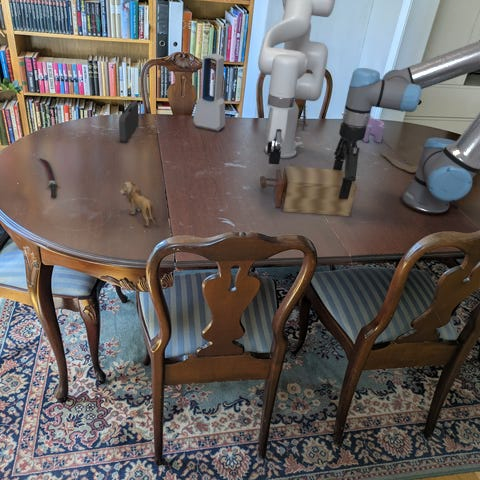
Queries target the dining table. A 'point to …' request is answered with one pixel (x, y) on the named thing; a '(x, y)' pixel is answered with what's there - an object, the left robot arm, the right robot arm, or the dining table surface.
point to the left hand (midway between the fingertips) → (272, 158)
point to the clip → (374, 129)
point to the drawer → (276, 186)
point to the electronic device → (207, 106)
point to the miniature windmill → (303, 111)
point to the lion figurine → (137, 201)
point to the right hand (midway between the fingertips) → (339, 188)
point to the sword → (52, 181)
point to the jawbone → (401, 164)
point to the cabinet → (316, 191)
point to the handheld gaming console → (128, 121)
